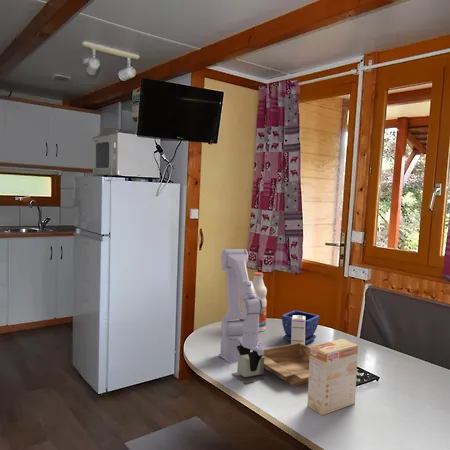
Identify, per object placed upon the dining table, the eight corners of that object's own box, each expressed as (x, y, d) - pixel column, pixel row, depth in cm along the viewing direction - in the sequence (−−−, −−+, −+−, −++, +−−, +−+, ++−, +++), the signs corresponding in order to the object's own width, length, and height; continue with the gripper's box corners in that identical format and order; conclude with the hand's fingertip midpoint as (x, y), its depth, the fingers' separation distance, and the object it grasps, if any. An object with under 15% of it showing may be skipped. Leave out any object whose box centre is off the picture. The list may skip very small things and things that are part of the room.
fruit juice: (257, 325, 214) (259, 270, 212) (269, 330, 207) (271, 273, 205) (242, 328, 209) (244, 272, 207) (254, 333, 201) (257, 275, 199)
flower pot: (293, 333, 203) (294, 309, 202) (319, 340, 195) (320, 314, 194) (279, 341, 192) (281, 315, 191) (306, 347, 184) (308, 321, 183)
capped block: (237, 371, 153) (238, 355, 153) (255, 368, 157) (256, 352, 157) (244, 377, 149) (246, 360, 148) (263, 373, 153) (264, 357, 152)
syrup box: (304, 353, 178) (306, 319, 177) (290, 351, 179) (291, 318, 178) (304, 348, 183) (306, 315, 182) (290, 347, 185) (292, 314, 184)
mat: (231, 374, 154) (231, 373, 154) (252, 369, 159) (252, 368, 159) (245, 384, 147) (245, 383, 146) (266, 379, 151) (266, 378, 151)
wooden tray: (252, 368, 160) (253, 351, 160) (299, 358, 172) (299, 342, 172) (291, 393, 141) (292, 375, 140) (341, 380, 152) (342, 362, 152)
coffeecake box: (339, 394, 141) (342, 338, 140) (356, 404, 135) (359, 344, 134) (306, 405, 133) (308, 345, 132) (322, 416, 127) (325, 353, 126)
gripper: (271, 335, 147) (270, 373, 148) (248, 324, 160) (247, 359, 161) (255, 338, 144) (253, 377, 145) (232, 326, 156) (231, 362, 157)
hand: (249, 368), depth 152 cm, fingers closed on capped block, 5 cm apart
